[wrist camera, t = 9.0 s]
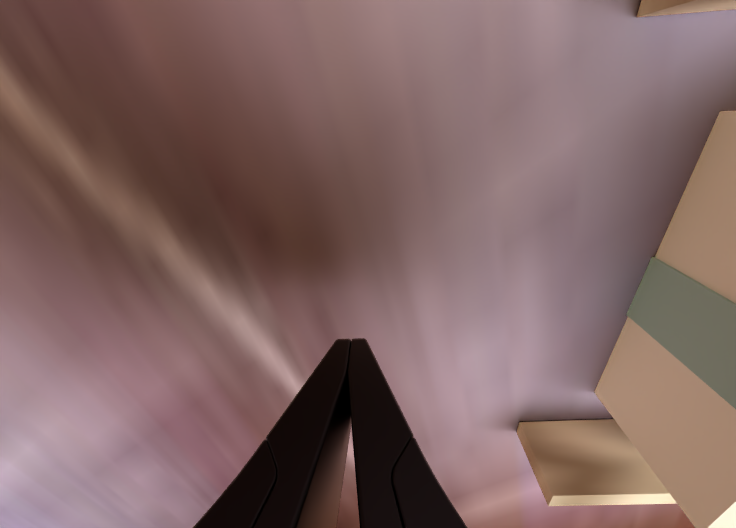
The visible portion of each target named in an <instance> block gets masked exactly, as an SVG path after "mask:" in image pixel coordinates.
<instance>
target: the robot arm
mask: <svg viewBox="0 0 736 528" xmlns="http://www.w3.org/2000/svg"><path fill="white" fill-rule="evenodd" d="M351 423H352V436H353V448H354V460H355V472H356V484H357V496H358V509H359V521H360V528H467V526H466V525H465V523H464V522H463V520H462V519H461V517H460V516H459V514H458V512H457V511H456V509H455V508H454V506H453V505H452V503H451V502H450V500H449V499H448V497H447V495H446V494H445V492H444V490H443V489H442V487H441V485H440V484H439V482H438V480H437V479H436V477H435V475H434V474H433V472H432V470H431V468H430V466H429V464H428V462H427V461H426V459H425V457H424V455H423V453H422V451H421V449H420V447H419V445H418V443H417V441H416V439H415V438H413V433H412V431H411V429H410V427H409V425H408V423H407V421H406V419H405V417H404V415H403V413H402V411H401V409H400V407H399V405H398V403H397V401H396V399H395V397H394V395H393V393H392V391H391V389H390V387H389V385H388V383H387V381H386V379H385V376H384V374H383V372H382V370H381V368H380V366H379V364H378V362H377V360H376V358H375V356H374V354H373V352H372V350H371V348H370V346H369V344H368V342H367V340H366V339H364V338H359V339H352V341H351V340H350V339H337V340H336V341H335V342H334V344H333V345H332V347H331V348H330V349H329V351H328V352H327V354H326V355H325V356H324V358H323V359H322V360H321V362H320V363H319V365H318V366H317V367H316V369H315V370H314V372H313V373H312V374H311V376H310V377H309V378H308V380H307V381H306V383H305V384H304V385H303V387H302V388H301V390H300V391H299V392H298V394H297V395H296V396H295V398H294V399H293V401H292V402H291V403H290V405H289V406H288V408H287V409H286V410H285V412H284V413H283V414H282V416H281V417H280V419H279V420H278V421H277V423H276V424H275V426H274V427H273V428H272V430H271V431H270V432H269V434H268V435H267V437H266V440H264V441H263V442H262V443H261V445H260V446H259V447H258V449H257V450H256V452H255V453H254V454H253V456H252V457H251V458H250V460H249V461H248V462H247V464H246V465H245V466H244V468H243V469H242V470H241V472H240V473H239V474H238V476H237V477H236V478H235V479H234V480H233V482H232V483H231V484H230V485H229V486H228V488H227V489H226V490H225V491H224V492H223V494H222V495H221V496H220V497H219V498H218V499H217V501H216V502H215V503H214V504H213V505H212V506H211V508H210V509H209V510H208V511H207V512H206V513H205V515H204V516H203V517H202V518H201V519H200V520H199V521H198V523H197V524H196V525H195V526H194V527H193V528H336V526H337V519H338V512H339V505H340V498H341V491H342V484H343V477H344V470H345V463H346V456H347V449H348V443H349V436H350V429H351Z"/></svg>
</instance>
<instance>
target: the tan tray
mask: <svg viewBox="0 0 736 528" xmlns="http://www.w3.org/2000/svg"><path fill="white" fill-rule="evenodd" d="M733 9H736V0H641V4H640V7H639V11H638V14H637V17H646V16H659V15H671V14H683V13H696V12H708V11H721V10H733ZM517 435H518V437H519V439H520V441H521V444H522V446H523V448H524V451H525V453H526V455H527V458H528V460H529V462H530V465H531V467H532V469H533V472H534V474H535V476H536V479H537V481H538V483H539V486H540V488H541V490H542V493H543V495H544V497H545V499H546V502H547V504H548V506H576V505H626V504H675V503H676V501H675V500H674V499H673V497H672V496H671V494H670V493H669V492H668V490H667V489H666V488H665V486H664V485H663V484H662V482H661V481H660V480H659V478H658V477H657V476H656V474H655V473H654V472H653V470H652V469H651V468H650V466H649V465H648V464H647V462H646V461H645V460H644V458H643V457H642V456H641V454H640V453H639V452H638V450H637V449H636V448H635V446H634V445H633V444H632V442H631V441H630V440H629V438H628V437H627V436H626V434H625V433H624V432H623V430H622V429H621V428H620V426H619V425H618V424H617V422H616V421H615V420H614V419H604V420H572V421H540V422H519V426H518V429H517Z"/></svg>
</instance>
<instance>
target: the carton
mask: <svg viewBox="0 0 736 528" xmlns="http://www.w3.org/2000/svg"><path fill="white" fill-rule="evenodd" d="M626 315H627V316H628V318H627V320H626V322H625V325H624V327H623V329H622V331H621V333H620V336H619V338H618V340H617V342H616V345H615V347H614V349H613V351H612V354H611V356H610V358H609V360H608V362H607V365H606V367H605V369H604V371H603V374H602V376H601V378H600V380H599V383H598V385H597V387H596V389H595V391H594V393H595V394H596V396H597V397H598V398H599V400H600V401H601V402H602V404H603V405H604V406H605V408H606V409H607V410H608V412H609V413H610V414H611V416H612V417H613V418H614V420H615V421H616V422H617V424H618V425H619V426H620V428H621V429H622V430H623V432H624V433H625V434H626V436H627V437H628V438H629V440H630V441H631V442H632V444H633V445H634V446H635V448H636V449H637V450H638V452H639V453H640V454H641V456H642V457H643V458H644V460H645V461H646V462H647V464H648V465H649V466H650V468H651V469H652V470H653V472H654V473H655V474H656V476H657V477H658V478H659V480H660V481H661V482H662V484H663V485H664V486H665V488H666V489H667V490H668V492H669V493H670V494H671V496H672V497H673V499H674V500H675V501H676V503H677V504H678V505H679V507H680V508H681V509H682V511H683V512H684V513H685V515H686V516H687V517H688V519H689V520H690V521H691V523H692V524H693V525H694V527H695V528H736V110H734V111H720V113H719V115H718V117H717V119H716V121H715V124H714V126H713V128H712V130H711V133H710V135H709V137H708V139H707V142H706V144H705V146H704V148H703V150H702V153H701V155H700V157H699V159H698V162H697V164H696V166H695V168H694V171H693V173H692V175H691V177H690V179H689V182H688V184H687V186H686V188H685V191H684V193H683V195H682V197H681V200H680V202H679V204H678V206H677V208H676V211H675V213H674V215H673V217H672V220H671V222H670V224H669V226H668V229H667V231H666V233H665V235H664V237H663V240H662V242H661V244H660V246H659V249H658V251H657V253H656V255H655V257H651V260H650V262H649V264H648V266H647V269H646V271H645V273H644V276H643V278H642V280H641V282H640V285H639V287H638V289H637V291H636V294H635V296H634V298H633V300H632V303H631V305H630V307H629V309H628V312H627V314H626Z"/></svg>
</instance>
